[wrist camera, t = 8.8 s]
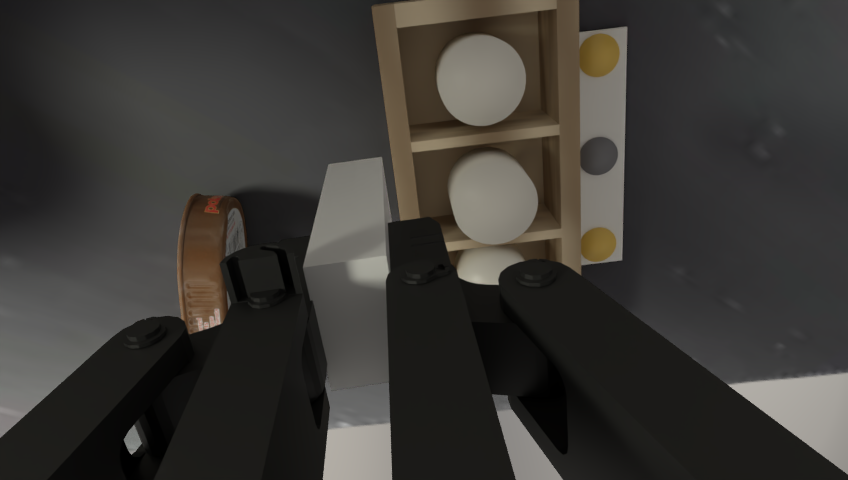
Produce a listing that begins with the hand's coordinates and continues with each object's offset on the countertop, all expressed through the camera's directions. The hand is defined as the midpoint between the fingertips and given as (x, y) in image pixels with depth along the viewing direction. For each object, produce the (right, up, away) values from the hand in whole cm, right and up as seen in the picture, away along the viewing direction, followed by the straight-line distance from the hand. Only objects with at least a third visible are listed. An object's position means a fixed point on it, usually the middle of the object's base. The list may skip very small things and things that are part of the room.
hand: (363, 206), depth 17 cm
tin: (-12, -4, +26) cm, 29 cm away
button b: (+6, +2, +20) cm, 21 cm away
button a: (+6, -3, +24) cm, 25 cm away
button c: (+5, +9, +19) cm, 22 cm away
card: (+13, +5, +23) cm, 27 cm away
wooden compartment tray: (+5, +4, +23) cm, 24 cm away
